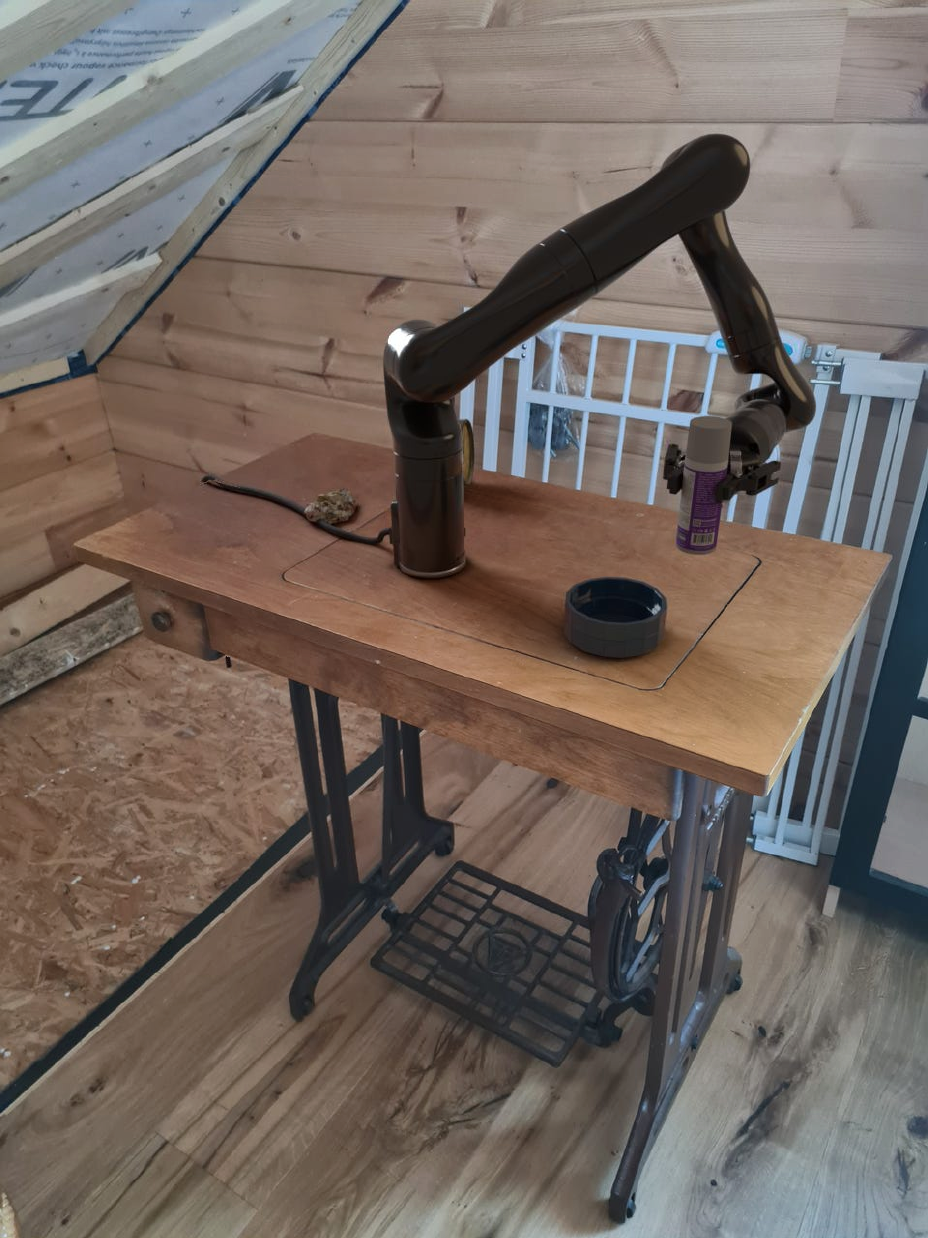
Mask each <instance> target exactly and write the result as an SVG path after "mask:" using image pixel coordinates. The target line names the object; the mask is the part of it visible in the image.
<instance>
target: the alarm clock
mask: <svg viewBox="0 0 928 1238" xmlns="http://www.w3.org/2000/svg"><path fill="white" fill-rule="evenodd" d="M453 399H454V406H455V405H456V397H455V396H454V397H453ZM455 407H456V406H455ZM458 420H459V423H460V426H461V429H462V448H463V487H468V486H470V485H471V483H472V480H473V475H474V468H475V467H474V466H475V438H474V437H475V436H474V431H473V427H472V423H471V420H469V419H468V418H458Z"/></svg>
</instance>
